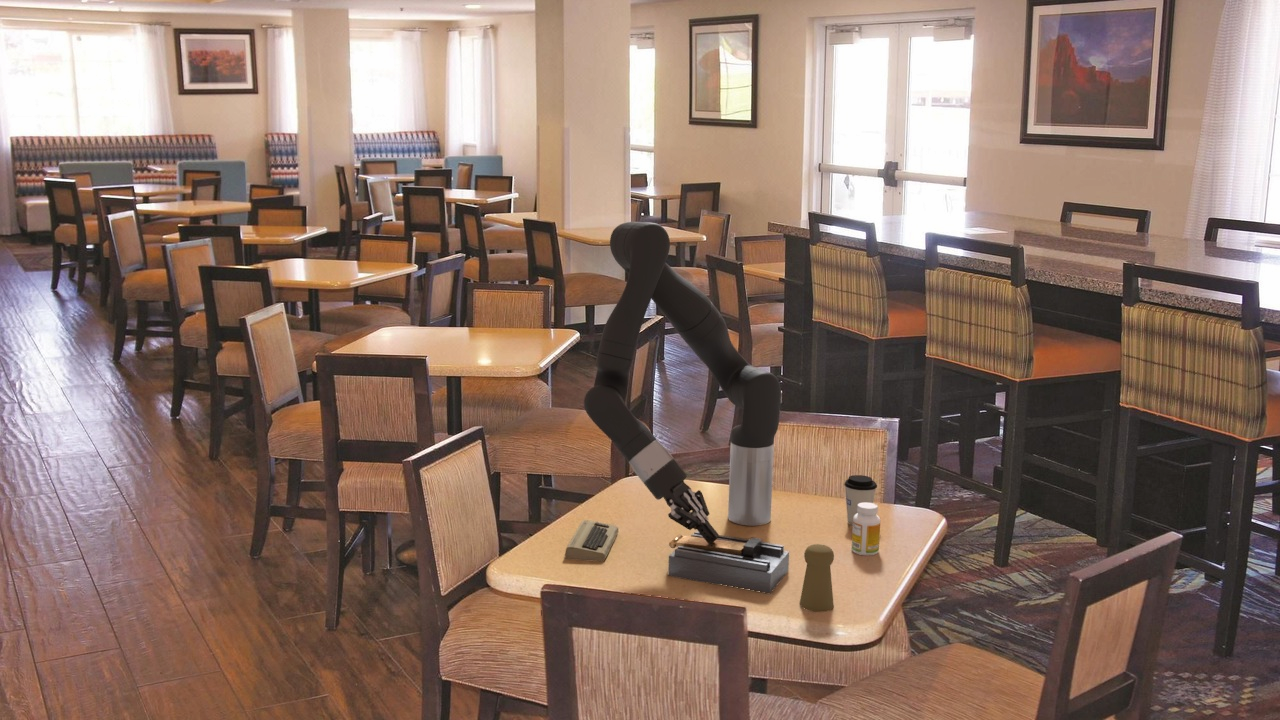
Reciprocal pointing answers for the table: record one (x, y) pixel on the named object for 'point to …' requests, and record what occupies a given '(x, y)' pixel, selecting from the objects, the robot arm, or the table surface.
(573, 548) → the computer
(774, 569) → the grey slider box
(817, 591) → the olive pawn
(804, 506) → the table surface
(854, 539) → the supplement bottle
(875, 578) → the table surface
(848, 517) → the coffee cup
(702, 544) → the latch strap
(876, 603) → the table surface
